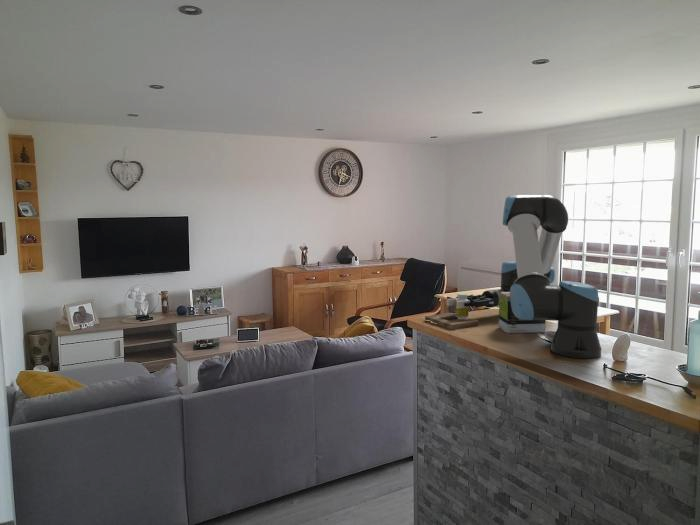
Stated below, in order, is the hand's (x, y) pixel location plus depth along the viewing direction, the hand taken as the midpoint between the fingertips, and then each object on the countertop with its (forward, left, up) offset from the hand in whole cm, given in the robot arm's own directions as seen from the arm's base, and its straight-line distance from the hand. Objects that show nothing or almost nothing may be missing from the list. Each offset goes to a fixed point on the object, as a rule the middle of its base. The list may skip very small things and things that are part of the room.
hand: (452, 303), depth 203 cm
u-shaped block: (-1, +1, -8) cm, 8 cm away
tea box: (-23, -15, -8) cm, 29 cm away
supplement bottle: (0, -5, -6) cm, 8 cm away
